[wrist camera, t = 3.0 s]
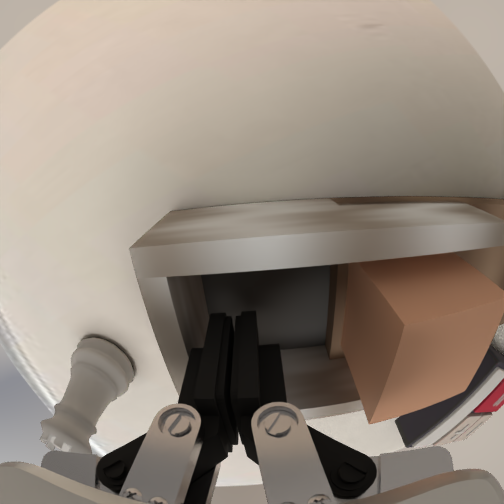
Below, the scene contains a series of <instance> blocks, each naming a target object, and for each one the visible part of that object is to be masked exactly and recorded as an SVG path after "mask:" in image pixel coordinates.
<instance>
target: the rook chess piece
mask: <svg viewBox="0 0 504 504" xmlns="http://www.w3.org/2000/svg"><path fill="white" fill-rule="evenodd" d="M71 366H72V368H71V378H70V381H69V384H68V387H67V389H66V392H65V394H64V397H63V399H62V400H61V402H60V403H59V404H56V405H55V406H54V408H55V414H54V416H53V418H50V419H46V420H43V421H41V426H42V431H43V434H42V436H41V438H40V440H41V442H43V443H45V444H46V442H47V444H46V447H47V448H49V449H50V450H51V451H54V449H55V447H57V448H58V449H60V450H61V451H63V452H72V453H82V454H92V450H91V447H90V444H89V438H90V437H91V435H93V434H96V432H97V430H96V427H95V426H96V424H97V422H98V419H99V417H100V416H101V414H102V413H103V411H104V410H105V408H106V407H107V405H108V404H109V403H110V402H111V401H114V400H116V399H117V397H119V396H121V395H123V394H124V393H125V392H126V391H127V390H128V387H129V383H131V382H132V381H133V378H134V372H133V368H132V365H131V362H130V360H129V359H128V357H127V356H126V355H125V353H124V352H123V351H122V350H121V349H119V348H118V347H117V346H116V345H114V344H112V343H111V342H109V341H107V340H105V339H100V338H88V339H83V340H81V341H80V342H79V344H78V345H77V349H76V350H75V351H74V352H73V354H72V357H71Z"/></svg>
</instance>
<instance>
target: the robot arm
mask: <svg viewBox="0 0 504 504" xmlns="http://www.w3.org/2000/svg"><path fill="white" fill-rule="evenodd" d="M238 432H239V434H240V438H241V442H242V445H244V447H245V450H246V454H247V457H248V458H250V459H251V460H252V461H254V462H255V463H256V464H258V465H259V467H260V472H261V476H262V481H263V485H264V489H265V494H266V498H267V502H268V504H504V490H503V489H502V487H501V485H500V484H499V482H498V481H497V479H496V478H495V477H494V476H493V475H492V474H491V473H489V472H488V471H485V470H481V469H464V470H456V471H454V470H453V463H452V457H451V455H450V452H449V451H447V450H446V449H445V448H443V447H440V446H433V447H428V448H422V449H416V450H410V451H402V452H394V453H385V454H380V456H373V457H368V456H367V455H365V454H363V453H361V452H358V451H356V450H354V449H352V448H350V447H348V446H346V445H344V444H342V443H340V442H338V441H336V440H334V439H332V438H330V437H328V436H326V435H325V434H323V433H321V432H319V431H317V430H315V429H314V428H312V427H310V426H308V425H307V424H306V421H305V419H304V416H303V414H302V413H301V411H300V410H299V409H298V408H297V407H296V406H294V405H292V404H289V403H287V398H286V390H285V382H284V374H283V366H282V359H281V351H280V345H279V344H267V345H259V336H258V325H257V315H256V310H255V311H241V315H239V316H236V318H235V331H234V327H233V321H232V316H227V315H226V313H211V314H210V318H209V322H208V327H207V332H206V337H205V342H204V347H203V348H192V349H191V351H190V355H189V359H188V363H187V367H186V371H185V375H184V379H183V383H182V388H181V392H180V396H179V400H178V404H172V405H168V406H166V407H164V408H162V409H161V410H160V411H159V412H158V413H157V414H156V416H155V417H154V419H153V422H152V424H151V426H150V428H149V430H148V432H147V433H145V434H144V435H142V436H140V437H138V438H137V439H135V440H133V441H131V442H129V443H127V444H126V445H124V446H122V447H120V448H118V449H116V450H114V451H112V452H110V453H108V454H106V455H105V456H104V457H99V456H98V455H95V454H82V453H72V452H63V451H50V452H48V453H47V454H46V455H45V456H44V457H43V460H42V464H41V467H39V466H36V465H33V464H29V463H24V462H5V463H1V464H0V504H211V499H212V497H213V492H214V489H215V485H216V481H217V478H218V474H219V470H220V464H221V461H223V460H224V459H226V458H227V457H228V452H232V447H233V445H238Z"/></svg>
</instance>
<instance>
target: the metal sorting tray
mask: <svg viewBox="0 0 504 504" xmlns="http://www.w3.org/2000/svg"><path fill="white" fill-rule="evenodd" d="M129 250H130V254H131V258H132V262H133V266H134V270H135V273H136V277H137V280H138V284H139V287H140V291H141V294H142V298H143V301H144V304H145V307H146V310H147V313H148V317H149V320H150V323H151V325H152V328H153V331H154V334H155V337H156V340H157V342H158V345H159V348H160V351H161V353H162V356H163V358H164V361H165V364H166V366H167V369H168V371H169V374H170V376H171V378H172V381H173V383H174V385H175V388H176V390H177V392H178V395H179V396H180V392H181V388H182V383H183V379H184V375H185V371H186V367H187V363H188V359H189V355H190V351H191V349H192V348H203V347H204V342H205V337H206V332H207V327H208V322H209V318H210V314H211V313H226V315H227V316H232V321H233V327H234V331H235V318H236V316H239V315H241V311H255V310H256V315H257V325H258V336H259V345H267V344H279V345H280V351H281V359H282V366H283V374H284V382H285V390H286V398H287V403H289V404H292V405H294V406H296V407H297V408H298V409H299V410H300V411H301V413H302V414H303V416H304V419H305V420H309V419H316V418H323V417H330V416H335V415H341V414H346V413H351V412H356V411H361V410H364V408H363V405H362V402H361V399H360V396H359V393H358V391H357V388H356V385H355V382H354V379H353V377H352V374H351V371H350V368H349V366H348V363H347V360H346V358H345V355H344V352H343V350H342V347H341V338H342V331H343V323H344V314H345V305H346V295H347V284H348V272H349V263H354V262H364V261H374V260H384V259H394V258H404V257H413V256H422V255H431V254H440V253H448V252H453V253H455V254H456V255H458V256H459V257H461V258H462V259H463V260H465V261H466V262H467V263H469V264H470V265H472V266H473V267H474V268H476V269H477V270H478V271H480V272H481V273H482V274H484V275H485V276H486V277H487V278H489V279H490V280H491V281H493V282H494V283H495V284H496V285H497V286H499V287H500V288H501V289H502V290H504V199H491V198H470V197H432V196H387V197H346V198H322V199H303V200H287V201H272V202H259V203H247V204H235V205H224V206H214V207H205V208H195V209H186V210H178V211H170V212H169V213H168V214H167V215H166V216H164V217H163V218H162V219H161V220H160V221H159V222H158V223H156V224H155V225H154V226H153V227H152V228H151V229H150V230H149V231H147V232H146V233H145V234H144V235H143V236H142V237H141V238H140V239H139V240H138V241H137V242H135V243H134V244H133V245H132V246H131V247H130V248H129ZM503 323H504V313H503V316H502V319H501V321H500V323H499V325H501V324H503Z"/></svg>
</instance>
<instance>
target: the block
mask: <svg viewBox="0 0 504 504" xmlns="http://www.w3.org/2000/svg"><path fill="white" fill-rule="evenodd" d="M503 313H504V290H502V289H501V288H500V287H499V286H497V285H496V284H495V283H494V282H493V281H491V280H490V279H489V278H487V277H486V276H485V275H484V274H482V273H481V272H480V271H478V270H477V269H476V268H474V267H473V266H472V265H470V264H469V263H467V262H466V261H465V260H463V259H462V258H461V257H459V256H458V255H456V254H455V253H453V252H448V253H440V254H431V255H422V256H413V257H404V258H394V259H384V260H374V261H364V262H354V263H349V272H348V284H347V295H346V305H345V314H344V323H343V331H342V338H341V347H342V350H343V352H344V355H345V358H346V360H347V363H348V366H349V368H350V371H351V374H352V377H353V379H354V382H355V385H356V388H357V391H358V393H359V396H360V399H361V402H362V405H363V408H364V411H365V414H366V417H367V420H368V423H369V424H373V423H377V422H381V421H384V420H388V419H391V418H395V417H398V416H401V415H405V414H408V413H411V412H414V411H417V410H420V409H422V408H425V407H428V406H431V405H433V404H436V403H438V402H441V401H443V400H446V399H448V398H450V397H453V396H455V395H457V394H460V393H462V392H464V391H465V390H466V389H467V387H468V385H469V384H470V382H471V380H472V378H473V377H474V375H475V373H476V371H477V370H478V368H479V366H480V364H481V362H482V360H483V358H484V356H485V354H486V352H487V350H488V348H489V346H490V344H491V342H492V340H493V337H494V335H495V333H496V331H497V328H498V326H499V323H500V321H501V319H502V316H503Z"/></svg>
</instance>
